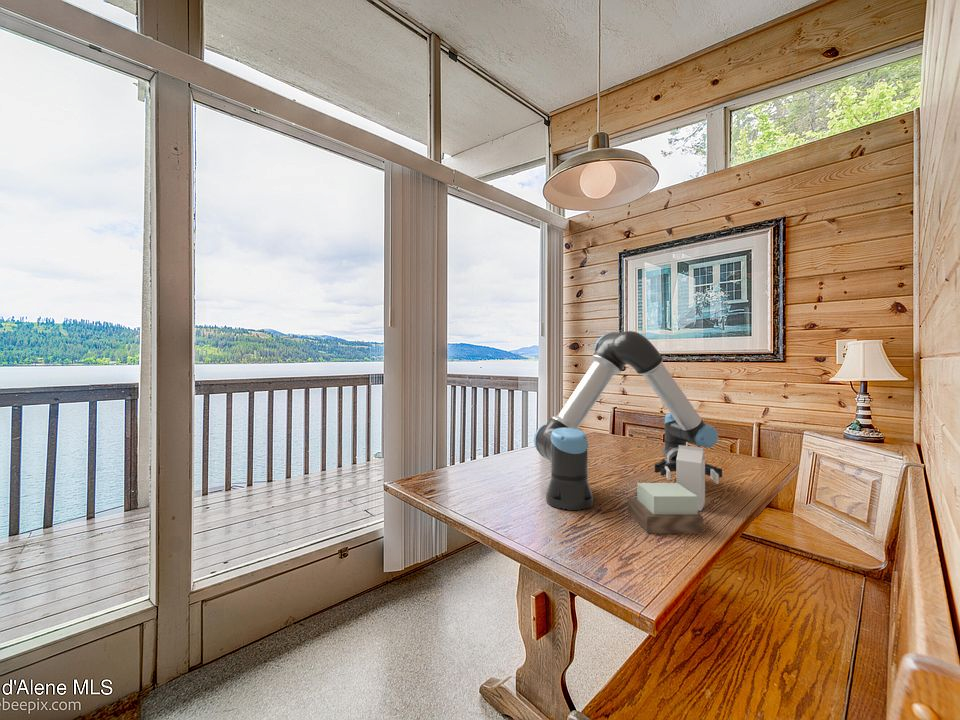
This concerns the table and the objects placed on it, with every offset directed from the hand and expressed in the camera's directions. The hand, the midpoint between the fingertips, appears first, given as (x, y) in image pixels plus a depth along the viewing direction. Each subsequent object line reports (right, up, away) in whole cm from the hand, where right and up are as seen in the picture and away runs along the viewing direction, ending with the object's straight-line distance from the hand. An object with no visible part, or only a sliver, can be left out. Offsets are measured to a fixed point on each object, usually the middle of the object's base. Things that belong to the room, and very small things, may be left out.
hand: (692, 477), depth 128 cm
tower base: (-13, -11, -9) cm, 20 cm away
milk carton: (+1, -10, +3) cm, 11 cm away
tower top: (-13, -6, -9) cm, 17 cm away
